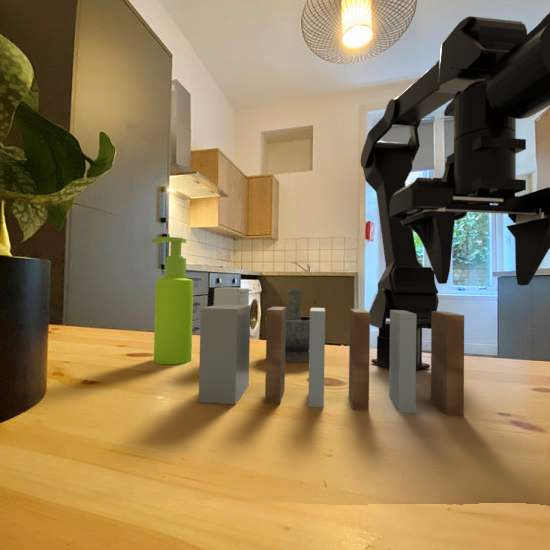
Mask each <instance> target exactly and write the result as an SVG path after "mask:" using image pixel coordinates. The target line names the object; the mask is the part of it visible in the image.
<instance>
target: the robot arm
mask: <svg viewBox="0 0 550 550" xmlns="http://www.w3.org/2000/svg"><path fill="white" fill-rule="evenodd" d="M447 103H448V104H447ZM445 104H447V105H446V108H445V110H444V111H443V115H444V116H445V117H453V153H451V154H450V155H448V156H447V157H446V161H445V164H444V172H443V174H442V175H443V176H441V177H433V178H431V177H420V176H419V177H416V179H414V181H412V182H410V183H409V184H407V185H406V182H407V179H408V177H409V176H410V173H411V172H412V170H413V167H414V166H413V163H414V160H415V158H416V155H417V153H418V151H419V149H420V147H421V145H420V144H421V143H420V140H419V139H420V137H419V131H418V129H419V127H420V124H421V121H422V120H423V119H425V118H426V117H427V116H429V115H430V114H432V113H433V112H435V111H436V110H438V109H440V108H441V107H442V106H443V105H445ZM548 107H550V12H548V13H547V14H546V15H545V17H543V19H542V20H541V21H540V22H539V23H538V24H537V25H536V26H535V27H534V28H533V29H532V30H530V32H528V30H527V27H526V24H525V23H523V22H522V21H518V20H507V19H499V18H491V17H490V18H488V17H479V16H470V15H469V16H466V17H464V18H463V19H462V20H461V21H460V22H459V23H458V24H457V25H455V27H454V28H453V30H452V31H451V32H450V33H449V34H448V35H447V37H446V39H445V40H444V41H443V42H442V44H441V45H440V57H439V59H438V60H437V61H436V62H435V64H434V65H432V66H431V67H430V68H429V69H428V70H427V71H426V72H424V73H423V74H422V75H421V76H420V77H419V78H418V79H417V80H415V81H414V82H413V83H412V84H411V85H410V86H409V87H407V88H406V90H405V91H403V92H402V93H400V95H399V96H396V97H395V98H392V99H390V100H389V101H388V104H387V106H386V108H385V111H384V114H383V117H381V118H380V119H379V121H378V122H377V123H375V125H374V126H373V127H372V128H371V129H370V130H369V132H368V133H367V135H366V139H365V143H364V144H363V148H362V151H361V155H360V166H361V168H362V171H363V175H364V179H365V182H366V183H367V184H368V185H369V186H370V187H371V188H372V189H373V190H374V191H375V193H376V198H377V199H376V200H377V208H378V209H377V210H378V217H379V224H380V230H381V231H380V232H381V237H382V239H381V240H382V247H383V254H384V262H385V268H384V272H383V273H382V275H381V276H380V279H379V280H378V283H377V293H376V296H375V297H374V300H373V302H372V304H371V307H370V308H369V311H368V312H370V326H372V327H375V328H378V335H377V337H376V358H374V359H371V363H373V364H376V365H379V366H381V367H385V368H388V369H389V367H390V310H405V311H408V312H411V313H415V314H416V370H423V369H431V364H429V363H425V362H423V329H431V313H432V311H438V309H439V307H438V306H439V301H440V300H439V295H438V294H439V290H438V287H437V285H436V282H437V283H438V284H440V285H442V284H443V285H445V284H447V283H448V281H449V277H450V271H451V262H452V261H451V260H452V253H453V252H452V251H453V250H452V249H453V241H454V233H455V231H454V230H455V221H458V220H462V219H464V218H465V217H466V216H467V215H468V213H480V214H481V213H485V214H486V213H487V214H505V215H506V214H507V216H508V218H509V219H510V220H511V222H513V224H510V225H506V228H507V230H508V231H509V232H510V234H511V235H512V236H513V238H514V254H515V255H514V256H515V257H514V258H515V275H516V276H515V277H516V283H517V285H518V286H529V285H530V282H532V279H533V278H534V276H535V274H536V273H537V270H538V269H539V267H540V266H541V264H542V262H544V261H543V260H544V259H545V257H546V255H547V254H548V252H549V250H550V187H544V188H541V189H539V190H536V191H535V190H534V191H532V192H528V193H525V194H523V195H519V196H518V195H516V194H517V193H521V192H523V191H526V189H527V180H526V179H520V178H519V179H518V178H517V179H516V177H517V176H516V175H517V172H516V171H517V168H516V166H517V161H516V160H517V159H516V158H517V154H519V153H520V152H523V151H525V150H526V149H527V139H526V138H525V139H524V138H517V133H516V131H517V129H516V127H517V126H516V125H517V124H516V123H517V122H516V121H517V120H522V119H523V120H524V119H528V118H530V117H532V116H534V115H536V114H538V113H539V112H541V111H543V110H545V109H547V108H548ZM393 126H399V127H400V126H402V127H409V128H408V129H409V134H410V136H409V139H408V141H407V143H406V142H394V141H381V140H382V138H383V137H384V136H385V135H387V133H388V132H389V131H390V130H391V129H392V127H393ZM414 233H415V234H416V235H417V236H418V237H419V240H420V242H421V243H422V245H423V247H424V250H425V252H426V256H427V257H428V261H429V263H430V266H431V267H430V266H423V265H422V264H421V263H420V262H419V260H418V253H417V248H416V242H415V237H414ZM435 279H436V280H435ZM387 319H388V320H387Z"/></svg>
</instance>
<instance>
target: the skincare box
mask: <svg viewBox="0 0 550 550" xmlns="http://www.w3.org/2000/svg"><path fill="white" fill-rule="evenodd" d="M213 291H214V292H213V306H214V305H219V304H225V305H250V303H249V302H250V300H249V298H250V288H249V287H248V288H247V287H214V290H213Z"/></svg>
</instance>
